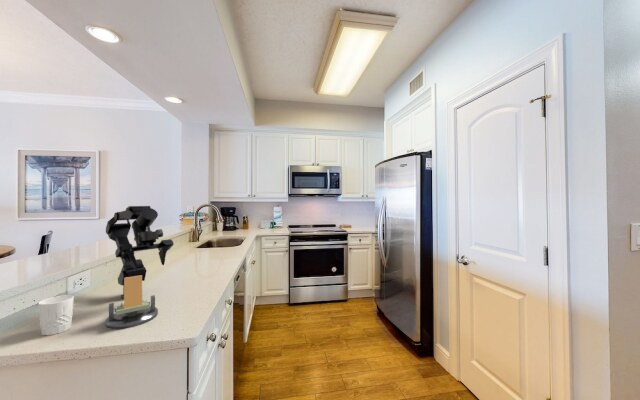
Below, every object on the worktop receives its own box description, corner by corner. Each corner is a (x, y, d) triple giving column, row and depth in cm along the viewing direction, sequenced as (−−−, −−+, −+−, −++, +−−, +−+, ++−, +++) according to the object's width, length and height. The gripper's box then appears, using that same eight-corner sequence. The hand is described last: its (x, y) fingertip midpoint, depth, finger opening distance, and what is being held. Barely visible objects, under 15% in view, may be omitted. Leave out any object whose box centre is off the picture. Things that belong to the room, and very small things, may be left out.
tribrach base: (106, 316, 90) (106, 298, 90) (156, 306, 99) (156, 289, 99) (103, 334, 78) (103, 313, 78) (159, 320, 87) (160, 301, 87)
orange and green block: (115, 310, 91) (115, 278, 93) (148, 303, 97) (148, 273, 99) (113, 315, 80) (114, 279, 82) (151, 307, 86) (151, 274, 88)
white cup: (55, 324, 84) (55, 295, 84) (80, 323, 85) (80, 294, 85) (30, 337, 76) (30, 304, 76) (57, 336, 77) (58, 303, 77)
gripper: (120, 224, 92) (128, 262, 86) (174, 221, 107) (183, 254, 101) (112, 238, 97) (118, 275, 92) (164, 233, 112) (172, 265, 107)
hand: (150, 267), depth 98 cm, fingers open, 9 cm apart
